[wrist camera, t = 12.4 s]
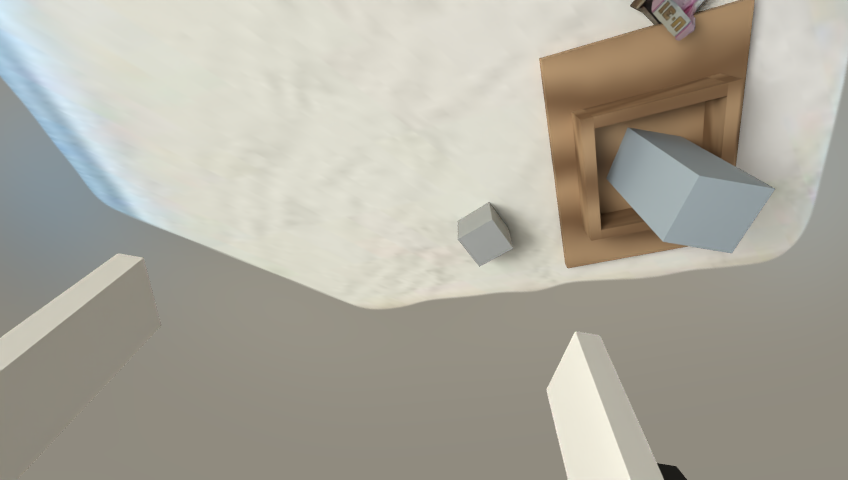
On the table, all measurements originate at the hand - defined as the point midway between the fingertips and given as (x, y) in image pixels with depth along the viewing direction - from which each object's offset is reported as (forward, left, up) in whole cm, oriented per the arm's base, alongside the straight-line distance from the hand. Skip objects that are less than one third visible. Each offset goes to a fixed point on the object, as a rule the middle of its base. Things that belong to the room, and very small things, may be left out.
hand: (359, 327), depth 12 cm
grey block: (+13, +3, -29) cm, 32 cm away
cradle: (+9, +19, -29) cm, 36 cm away
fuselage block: (+9, +19, -28) cm, 35 cm away
